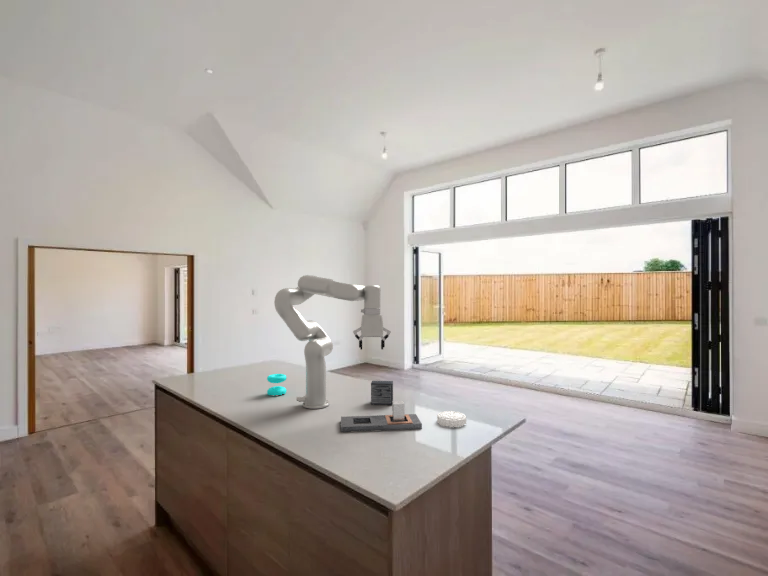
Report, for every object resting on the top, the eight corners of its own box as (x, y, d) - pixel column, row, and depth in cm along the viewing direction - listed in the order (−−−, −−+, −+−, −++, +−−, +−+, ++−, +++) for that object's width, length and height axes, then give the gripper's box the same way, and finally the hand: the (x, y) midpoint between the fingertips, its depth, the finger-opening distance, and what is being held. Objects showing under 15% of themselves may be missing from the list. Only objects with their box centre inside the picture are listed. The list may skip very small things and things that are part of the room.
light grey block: (393, 426, 153) (393, 404, 153) (392, 422, 157) (392, 401, 158) (404, 426, 154) (404, 404, 154) (402, 422, 158) (402, 400, 158)
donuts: (290, 373, 204) (279, 378, 195) (290, 392, 204) (279, 397, 195) (274, 372, 207) (263, 376, 198) (274, 391, 207) (263, 395, 197)
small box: (393, 401, 188) (393, 380, 188) (392, 405, 181) (392, 383, 181) (372, 400, 189) (372, 379, 189) (370, 404, 182) (370, 383, 182)
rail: (340, 432, 147) (340, 426, 147) (341, 421, 159) (341, 416, 159) (421, 428, 150) (421, 423, 150) (415, 418, 162) (415, 413, 162)
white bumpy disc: (447, 429, 150) (447, 420, 150) (431, 420, 161) (431, 411, 161) (472, 425, 155) (472, 416, 155) (455, 416, 166) (455, 408, 166)
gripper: (353, 312, 170) (353, 350, 170) (391, 312, 172) (391, 350, 171) (353, 311, 177) (352, 348, 177) (389, 311, 179) (389, 347, 179)
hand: (371, 349), depth 174 cm, fingers open, 9 cm apart
